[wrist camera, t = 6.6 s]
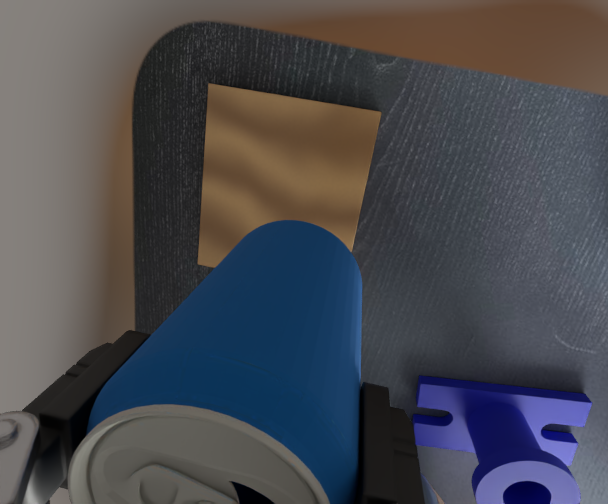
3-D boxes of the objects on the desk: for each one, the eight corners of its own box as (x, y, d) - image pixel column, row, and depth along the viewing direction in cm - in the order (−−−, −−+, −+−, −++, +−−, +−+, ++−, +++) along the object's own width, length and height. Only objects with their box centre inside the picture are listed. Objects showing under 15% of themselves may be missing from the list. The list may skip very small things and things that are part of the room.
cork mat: (210, 83, 31) (208, 83, 31) (381, 111, 30) (381, 111, 30) (199, 262, 37) (197, 264, 37) (342, 291, 36) (342, 294, 35)
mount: (584, 393, 36) (649, 476, 28) (564, 454, 38) (618, 546, 30) (419, 375, 38) (433, 447, 30) (410, 434, 40) (421, 516, 32)
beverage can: (326, 355, 20) (278, 659, 9) (214, 302, 20) (26, 543, 9) (387, 253, 18) (423, 496, 7) (260, 191, 18) (81, 332, 6)
